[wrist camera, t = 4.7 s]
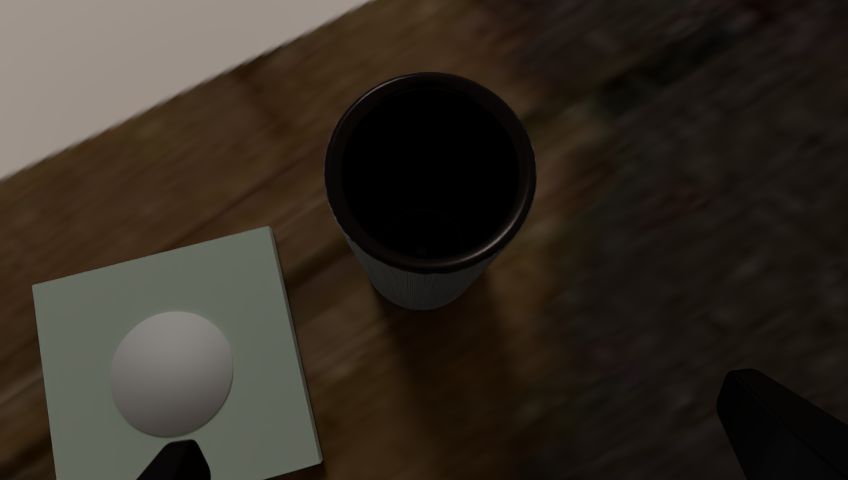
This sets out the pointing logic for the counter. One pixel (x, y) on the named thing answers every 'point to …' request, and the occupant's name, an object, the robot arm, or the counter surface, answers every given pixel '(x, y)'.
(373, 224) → the grey cylinder
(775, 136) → the counter surface
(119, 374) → the pad
